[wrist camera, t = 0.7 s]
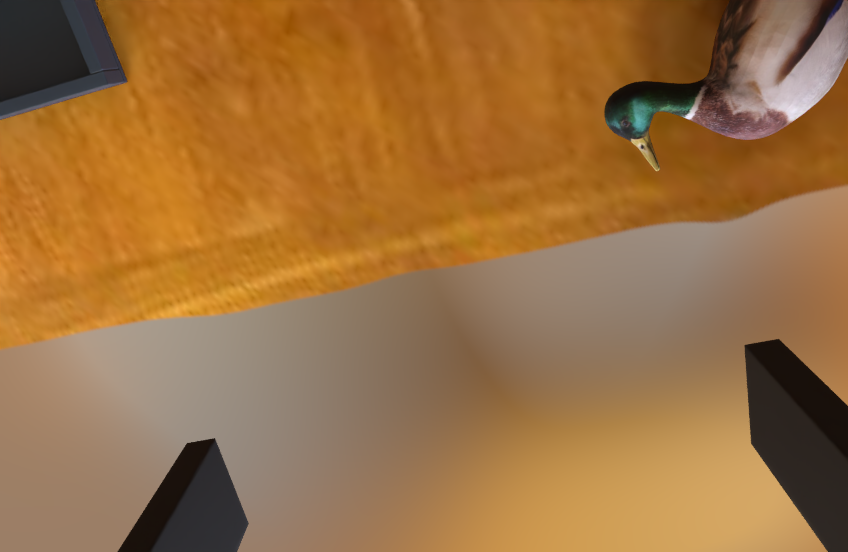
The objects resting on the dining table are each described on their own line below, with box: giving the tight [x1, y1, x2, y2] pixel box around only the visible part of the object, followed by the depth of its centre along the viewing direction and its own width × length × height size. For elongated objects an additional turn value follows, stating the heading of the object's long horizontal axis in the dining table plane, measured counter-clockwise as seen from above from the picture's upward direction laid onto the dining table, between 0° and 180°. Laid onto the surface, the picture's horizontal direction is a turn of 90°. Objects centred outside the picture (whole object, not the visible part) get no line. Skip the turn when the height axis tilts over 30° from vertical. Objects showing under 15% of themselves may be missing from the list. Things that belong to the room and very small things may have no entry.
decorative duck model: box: [605, 0, 848, 171], centre depth 34 cm, size 15×8×15 cm
